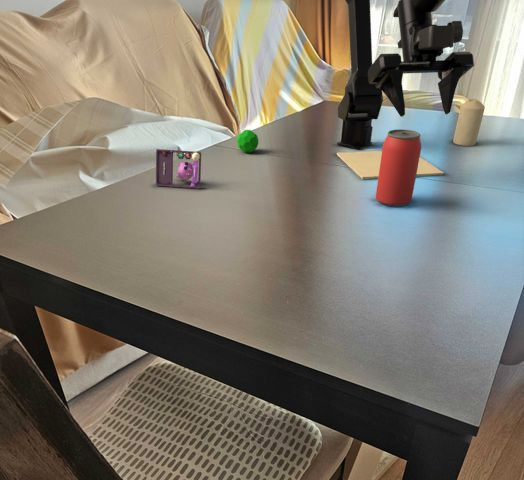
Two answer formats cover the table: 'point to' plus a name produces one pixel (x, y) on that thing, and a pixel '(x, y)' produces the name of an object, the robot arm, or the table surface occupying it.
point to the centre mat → (370, 164)
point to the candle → (469, 122)
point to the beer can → (398, 167)
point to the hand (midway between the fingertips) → (425, 114)
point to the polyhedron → (247, 141)
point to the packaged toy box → (185, 169)
